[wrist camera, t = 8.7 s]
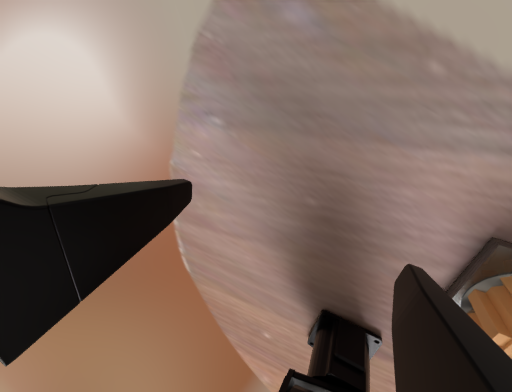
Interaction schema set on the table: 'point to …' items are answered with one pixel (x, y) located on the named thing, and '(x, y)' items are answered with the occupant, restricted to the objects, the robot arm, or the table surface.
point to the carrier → (483, 272)
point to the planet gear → (495, 313)
